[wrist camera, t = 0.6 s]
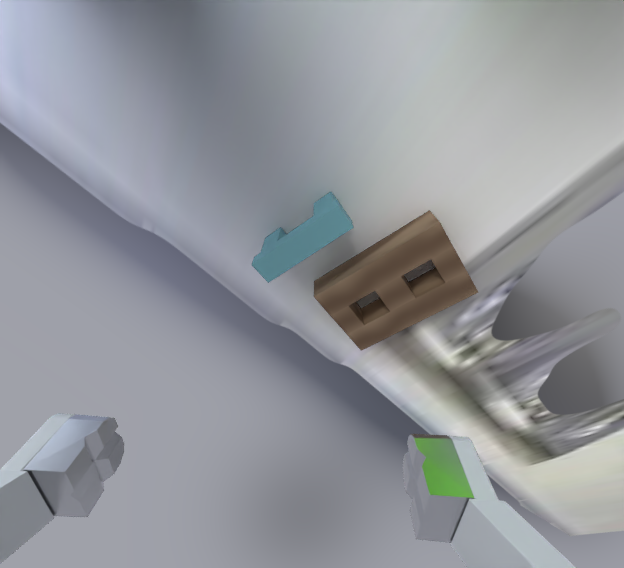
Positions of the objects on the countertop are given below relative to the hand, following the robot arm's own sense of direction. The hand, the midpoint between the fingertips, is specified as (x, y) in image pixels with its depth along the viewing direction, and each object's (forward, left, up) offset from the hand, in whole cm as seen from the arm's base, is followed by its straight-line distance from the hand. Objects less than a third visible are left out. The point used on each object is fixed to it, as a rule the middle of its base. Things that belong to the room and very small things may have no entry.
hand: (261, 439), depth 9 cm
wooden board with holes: (+20, +1, -34) cm, 40 cm away
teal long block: (+6, -4, -34) cm, 35 cm away
